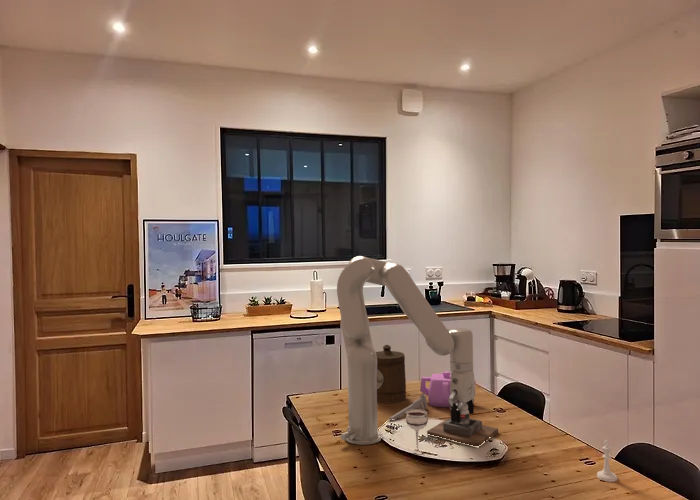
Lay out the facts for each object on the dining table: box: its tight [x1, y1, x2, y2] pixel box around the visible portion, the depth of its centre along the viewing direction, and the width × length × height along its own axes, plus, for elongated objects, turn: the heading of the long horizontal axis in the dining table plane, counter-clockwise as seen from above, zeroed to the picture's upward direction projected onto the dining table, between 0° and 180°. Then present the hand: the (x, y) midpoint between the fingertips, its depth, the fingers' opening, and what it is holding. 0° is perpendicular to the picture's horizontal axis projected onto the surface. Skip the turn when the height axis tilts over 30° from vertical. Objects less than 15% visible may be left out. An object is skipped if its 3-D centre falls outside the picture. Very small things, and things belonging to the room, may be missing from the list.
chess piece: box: [596, 439, 618, 483], centre depth 136 cm, size 5×5×10 cm
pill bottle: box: [455, 403, 470, 427], centre depth 168 cm, size 5×5×8 cm
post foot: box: [426, 417, 499, 446], centre depth 168 cm, size 16×18×4 cm
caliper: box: [388, 393, 428, 420], centre depth 189 cm, size 20×1×6 cm, turn 131°
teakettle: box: [419, 370, 477, 408], centre depth 202 cm, size 17×17×12 cm
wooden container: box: [375, 344, 407, 404], centre depth 210 cm, size 15×15×22 cm
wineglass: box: [405, 408, 429, 450], centre depth 155 cm, size 7×7×12 cm
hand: (462, 417), depth 168 cm, fingers open, 9 cm apart
